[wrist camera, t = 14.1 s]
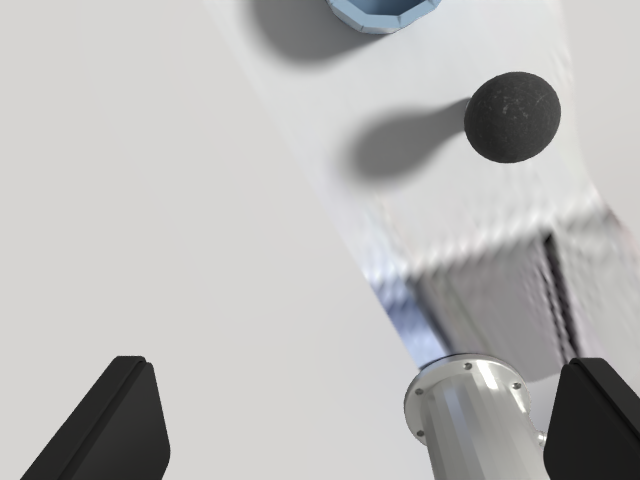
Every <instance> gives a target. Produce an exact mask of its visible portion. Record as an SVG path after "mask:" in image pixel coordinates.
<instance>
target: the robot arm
mask: <svg viewBox="0 0 640 480" xmlns="http://www.w3.org/2000/svg"><path fill="white" fill-rule="evenodd" d="M530 407H531V399H530V394H529V391H528V389H527V386H526V384H525V382H524V381H523V379H522V378H521V376H520V374H519V373H518V372H517V371H516V370H515V369H514V368H513V367H511V366H510V365H508V364H507V363H505V362H504V361H501V360H499V359H496V358H494V357H491V356H486V355H481V354H462V355H455V356H451V357H447V358H444V359H441V360H439V361H437V362H435V363H433V364H431V365H429V366H428V367H426V368H425V369H423V370H422V371H421V372H420V373H419V374H418V375H417V376H416V377H415V378H414V380H413V381H412V382H411V384H410V385H409V387H408V390H407V392H406V394H405V399H404V413H405V418H406V422H407V424H408V427H409V429H410V431H411V432H412V434H413V435H414V436H415V437H416V438H417V439H418V440H419V441H420V442H421V443H422V444H424V445H426V446H427V447H428V452H429V457H430V461H431V465H432V470H433V474H434V478H435V480H640V398H639V397H638V396H637V395H636V394H635V392H634V391H633V390H632V389H631V388H630V387H629V386H628V385H627V384H626V382H625V381H624V380H623V379H622V378H621V377H620V376H619V375H618V374H617V372H616V371H615V370H614V369H613V368H612V367H611V366H610V365H609V364H608V362H607V361H605V360H604V359H602V358H573V359H571V361H570V362H569V364H566V365H564V366H563V367H562V370H561V374H560V379H559V384H558V388H557V393H556V397H555V402H554V406H553V411H552V416H551V420H550V424H549V429H548V433H545V432H543V431H538V430H536V428H535V427H534V425H533V423H532V421H531V419H530V417H529V413H530ZM540 446H542V447H544V451H542V449H541V448H540ZM169 459H170V444H169V439H168V435H167V430H166V425H165V421H164V416H163V411H162V406H161V401H160V397H159V392H158V387H157V383H156V378H155V373H154V368H153V365H152V364H151V363H149V362H146V360H145V358H144V357H142V356H117V357H116V358H114V359H113V361H112V362H111V363H110V365H109V366H108V367H107V368H106V370H105V371H104V372H103V374H102V375H101V376H100V377H99V379H98V380H97V381H96V383H95V384H94V385H93V386H92V388H91V389H90V390H89V392H88V393H87V394H86V395H85V397H84V398H83V399H82V401H81V402H80V403H79V405H78V406H77V407H76V408H75V410H74V411H73V412H72V414H71V415H70V416H69V417H68V419H67V420H66V421H65V422H64V424H63V425H62V426H61V427H60V429H59V430H58V431H57V433H56V434H55V435H54V436H53V438H52V439H51V440H50V441H49V443H48V444H47V445H46V447H45V448H44V449H43V451H42V452H41V453H40V455H39V456H38V457H37V458H36V460H35V461H34V462H33V464H32V465H31V466H30V467H29V469H28V470H27V471H26V472H25V474H24V475H23V477H22V478H21V479H20V480H162V477H163V475H164V473H165V470H166V468H167V466H168V463H169Z"/></svg>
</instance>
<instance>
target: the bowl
mask: <svg viewBox="0 0 640 480" xmlns="http://www.w3.org/2000/svg"><path fill="white" fill-rule="evenodd" d="M326 1H327V3H328V5H329V7H330V8H331V10H332V12H333V13H334V14H335V15H336V16H337V17H338V18H339V19H340V20H342V21H343V22H344V23H345V24H347V25H348V26H350V27H351V28H353V29H356V30H358V31H359V32H364V33H369V34H386V33H394V32H396V31H398V30H400V29H402V28H404V27H406V26H408V25H410V24H411V23H413V22H414V21H416V20H417V19H419V18H421V17H423V16H424V15H426V14H428V13H429V12H431V11H433V10H434V9H435V8H437V6H438V5H439V3H440V2H441V0H326Z"/></svg>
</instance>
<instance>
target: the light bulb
mask: <svg viewBox="0 0 640 480" xmlns="http://www.w3.org/2000/svg"><path fill="white" fill-rule="evenodd" d="M560 117H561V107H560V103H559V99H558V97H557V94H556V92H555V91H554V89H553V88H552V87H551V85H549V84H548V83H547V82H546V81H545V80H544V79H542V78H541V77H538V76H536V75H534V74H530V73H526V72H508V73H505V74H502V75H499V76H496V77H494V78H492V79H490V80H489V81H487V82H486V83H484V84H483V85H482V86H481V87H480V88H479V89H478V90H477V91H476V92H475V93H474V95H473V96H472V98H471V99H470V100H469V101H468V103H467V105H466V109H465V118H464V127H465V132H466V136H467V139H468V140H469V142H470V144H471V145H472V147H473V148H474V149H475V150H476V151H477V152H478V153H479V154H480V155H482V156H483V157H485V158H487V159H489V160H491V161H495V162H498V163H516V162H520V161H524V160H527V159H529V158H531V157H534V156H535V155H537V154H538V153H540V152H541V151H542V150H543V149H544V148H545V147H546V146H547V145H548V144H549V143H550V142H551V140H552V139H553V137H554V136H555V134H556V132H557V129H558V126H559V123H560Z"/></svg>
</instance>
